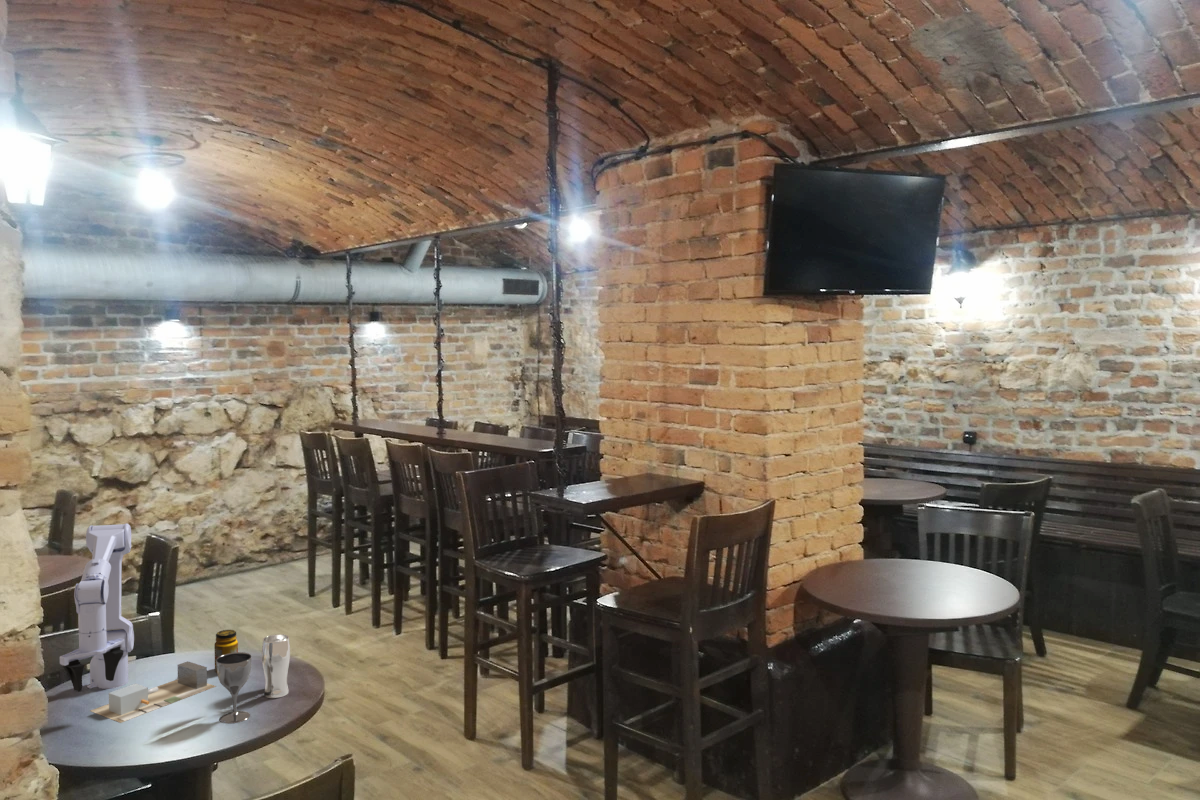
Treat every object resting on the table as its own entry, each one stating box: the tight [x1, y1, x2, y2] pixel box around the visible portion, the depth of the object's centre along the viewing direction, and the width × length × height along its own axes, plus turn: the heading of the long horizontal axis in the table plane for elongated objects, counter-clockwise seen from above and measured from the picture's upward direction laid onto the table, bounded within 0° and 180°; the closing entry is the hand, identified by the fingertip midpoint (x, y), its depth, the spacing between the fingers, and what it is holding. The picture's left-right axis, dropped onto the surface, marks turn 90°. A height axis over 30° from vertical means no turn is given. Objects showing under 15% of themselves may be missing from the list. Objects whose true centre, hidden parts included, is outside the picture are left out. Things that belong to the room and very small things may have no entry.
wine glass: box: [216, 651, 252, 724], centre depth 214 cm, size 8×8×15 cm
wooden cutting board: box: [89, 678, 217, 724], centre depth 222 cm, size 13×26×1 cm, turn 150°
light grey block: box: [108, 683, 158, 715], centre depth 217 cm, size 7×11×4 cm
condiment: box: [214, 629, 239, 674], centre depth 241 cm, size 7×8×12 cm
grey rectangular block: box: [177, 661, 208, 689], centre depth 231 cm, size 8×3×5 cm, turn 60°
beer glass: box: [261, 633, 291, 699], centre depth 229 cm, size 7×7×15 cm
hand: (94, 685), depth 209 cm, fingers open, 7 cm apart
